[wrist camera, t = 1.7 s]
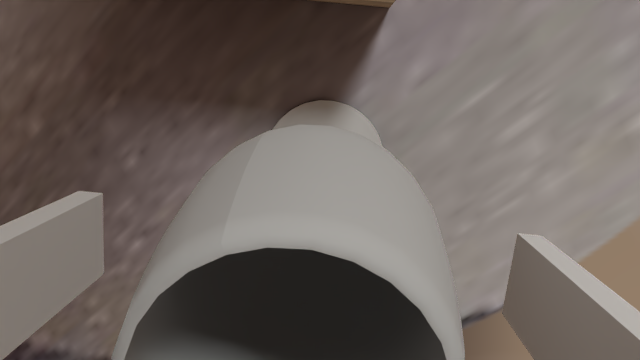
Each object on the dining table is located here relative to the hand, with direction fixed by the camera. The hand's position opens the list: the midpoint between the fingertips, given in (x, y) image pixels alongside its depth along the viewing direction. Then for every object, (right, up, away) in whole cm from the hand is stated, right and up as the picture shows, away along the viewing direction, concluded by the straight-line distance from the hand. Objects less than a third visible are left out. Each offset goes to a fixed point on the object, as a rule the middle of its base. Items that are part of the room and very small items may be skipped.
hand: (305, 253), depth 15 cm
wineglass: (+1, +4, +14) cm, 14 cm away
